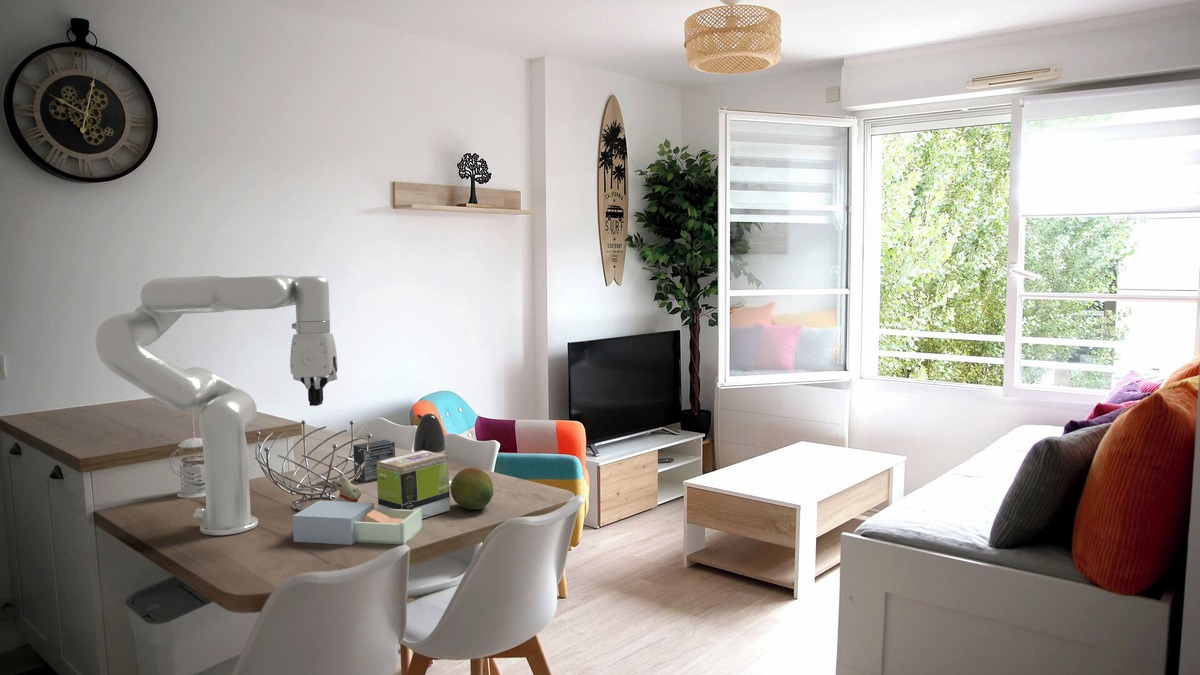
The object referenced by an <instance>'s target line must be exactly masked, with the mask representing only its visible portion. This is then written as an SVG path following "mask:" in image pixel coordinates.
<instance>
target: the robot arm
mask: <svg viewBox="0 0 1200 675" xmlns="http://www.w3.org/2000/svg"><path fill="white" fill-rule="evenodd" d="M329 285H330V284H329V280H328V279H327V278H326V277H325V276H321V275H311V276H310V275H309V276H308V275H305V276H291V275H281V274H280V275H278V274H276V275H261V276H241V277H240V276H238V277H237V276H236V277H230V276H229V277H227V276H225V277H224V276H222V275H221V276H220V275H202V276H201V275H200V276H180V277H179V276H177V277H173V276H172V277H158V278H153V279H151V280H149V281H147V282H146V283H145V284H144V285H143V286H142V288H141V291H140V301H141V304H139V306H138V307H137V308H136V309H135V310H134V311H133V312H125V313H119V314H114V315H112V316H108V317H107V318H106V319H105V320H103V321H102V322H101V323H100V325H99V326H98V327H97V329H96V331H95V332H96V334H95V340H94V341H95V347H96V348H95V349H96V352H97V355H98V356H99V359H100V360H101V362H102V363H103V364H104V366H105V367H106V368H108V370H110V371H111V372H112V373H113V374H114V375H116V376H117V377H119V378H121V379H123V380H124V381H126V382H127V383H130V384H131V385H133V386H135V387H137V388H138V389H140V390H141V391H143V392H144V393H146V394H147V395H149V396H151V397H152V398H154V399H156V400H158V401H159V402H161V403H162V404H164V405H166V406H168V407H170V409H173V410H174V411H178V412H188V411H193V410H195V409H197V410H199V411H200V414H199V419H198V427H199V432H200V438H202V444H203V447H202V450H203V455H204V465H203V466H204V469H205V479H204V480H205V490H206V496H205V505H206V508H198V507H197V508H196V509H195V510H194V513H193V515H192V518H193V519H195V520H202V523H201V524H200V525H199V531H200V533H201V534H204V535H207V536H229V535H230V536H231V535H236V534H239V533H243V532H248V531H250V530H252V529H254V528H256V527H257V526H258V524H259V520H258V519H259V518H257V517H256V516H254V515H252V514H251V497H250V496H251V494H250V472H249V470H250V467H249V450H248V443H247V437H246V432H245V428H246V427H247V426H249V425H250V424H251V423H252V422H253V421H254V419H255V418H256V416H257V405H256V404H257V403H256V401H255V400H254V399H253V397H252V396H251V395H250V394H249V393H247V391H245V390H243V389H242V388H240V387H238V386H237V385H235V384H233V383H231V382H230V381H228V380H227V379H225V378H224V377H221V376H219V375H218V374H216V373H215V372H213V371H211V370H208V369H206V368H202V367H197V366H195V367H189V368H182V367H179V366H177V365H176V364H173V362H170V361H169V360H167V359H165V358H164V357H163V356H160V355H158V354H157V353H154V352H151V351H149V350H147V349H146V348H144V347H147V346H150V345H152V344H154V343H155V342H156V341H157V340H158V339H160V338H161V337H162V336H163V335H164V334H165V333H166V332H167V331H168V330H169V329H170V328H171V327H172V326H173V325H174V324H175V323H176V322H177V321H178V320H179V319H180V318H181V317H182V316H183V315H184V314H207V313H209V314H210V313H223V312H229V311H252V310H271V309H272V310H273V309H279V308H285V307H291V306H295V319H296V321H295V323H293V322H292V323H291V328H292V330H295V332H296V333H295V334H293V336H292V340H291V345H290V346H291V347H290V355H289V356H290V358H289V359H290V360H289V368H290V369H289V371H290V374H291V375H292V379H293V381H297V382H301V383H302V384H303V385H304V387H305V389H307V396H308V397H307V398H308V399H307V400H308V402H309V406H310V407H313V406H314V407H318V406H320V405H323V401H324V388H325V387H326V385H328V383H329V382H333V381H337V380H338V375H337V372H338V356H337V347H336V342H335V338H334V335H333V333H331V320H330V319H331V318H330V313H331V312H330V288H329Z"/></svg>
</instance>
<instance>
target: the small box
mask: <svg viewBox="0 0 1200 675" xmlns="http://www.w3.org/2000/svg"><path fill="white" fill-rule="evenodd" d="M369 442H370V447H369V457H368V460H367V463H366V465H365V467H364V469H363V471H362V473H361V475H360V477H359V478H358V479H357V480H356V481H357V482H360V483H363V484H366V483H372V482H377V464H376V462H377V461H381V460H385V459H389V458H393V457H396V449H395V448H396V446H395V445H396V443H395V441H391V440H388V439H380V440H376V441H374V440H373V441H369ZM367 444H368V442H364V443H357V444H353V445H352V448H353V470H354V471H353V472H354V473H353V474H354V475H355V474H356V473H357V471H358V469H359V465H361V464H362V463H363V462H364V460H365V458H366V455H367ZM360 449H363V450H361V451H359V450H360ZM358 451H359V452H358ZM355 462H356V463H358V465H356V464H355Z"/></svg>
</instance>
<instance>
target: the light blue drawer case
mask: <svg viewBox="0 0 1200 675" xmlns="http://www.w3.org/2000/svg"><path fill="white" fill-rule="evenodd" d="M373 509H375V502H361V501H360V502H358V501H357V502H340V501H332V500H318V501H316V502H314V503H313V504H311V505H309V506H307V507H305V508H304V509H302V510H300V511H298V512H296V513H295V514H294V515H292V528H293V529H292V530H293V531H292V532H293V535H292V537H293V542H294V543H313V544H316V543H317V544H326V545H327V544H330V545H331V544H332V545H347V546H351V545H354V544H355V543H356V542H355V522H363V521H364V519H365V516H366V515H367V514H368V513H369V512H371V511H372V510H373Z"/></svg>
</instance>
